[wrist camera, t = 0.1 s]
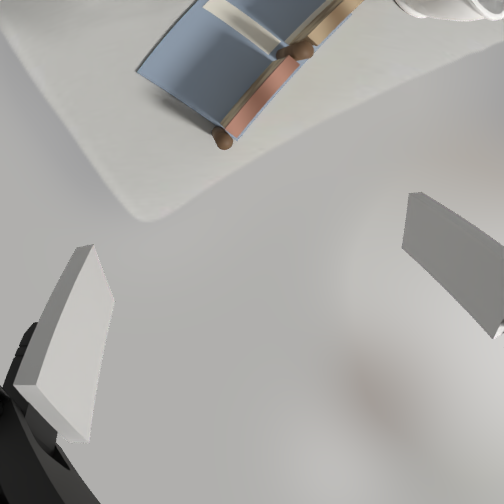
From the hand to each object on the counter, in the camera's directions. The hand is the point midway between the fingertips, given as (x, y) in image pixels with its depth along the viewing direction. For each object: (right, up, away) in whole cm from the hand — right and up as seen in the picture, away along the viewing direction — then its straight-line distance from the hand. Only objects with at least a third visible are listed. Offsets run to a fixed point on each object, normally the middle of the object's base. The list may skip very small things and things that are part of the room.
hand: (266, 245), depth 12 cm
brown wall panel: (+7, +28, +18) cm, 34 cm away
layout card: (-1, +25, +18) cm, 31 cm away
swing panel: (-1, +18, +22) cm, 28 cm away
